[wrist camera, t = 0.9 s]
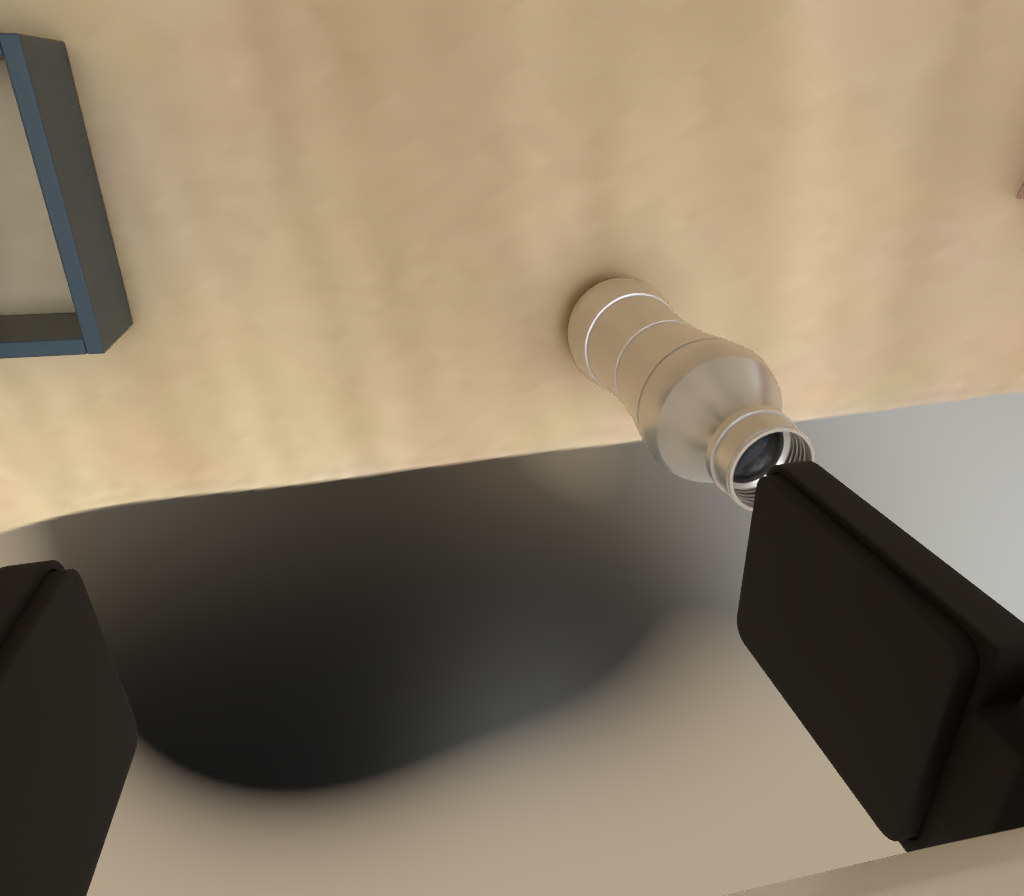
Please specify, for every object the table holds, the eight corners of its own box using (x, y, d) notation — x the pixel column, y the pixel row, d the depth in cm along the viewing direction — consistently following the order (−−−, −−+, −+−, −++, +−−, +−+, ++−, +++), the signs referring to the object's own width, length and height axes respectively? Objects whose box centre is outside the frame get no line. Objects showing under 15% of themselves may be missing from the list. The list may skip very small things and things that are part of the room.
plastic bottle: (561, 378, 45) (689, 558, 28) (556, 275, 42) (696, 403, 24) (655, 365, 46) (836, 530, 28) (657, 262, 43) (863, 377, 25)
